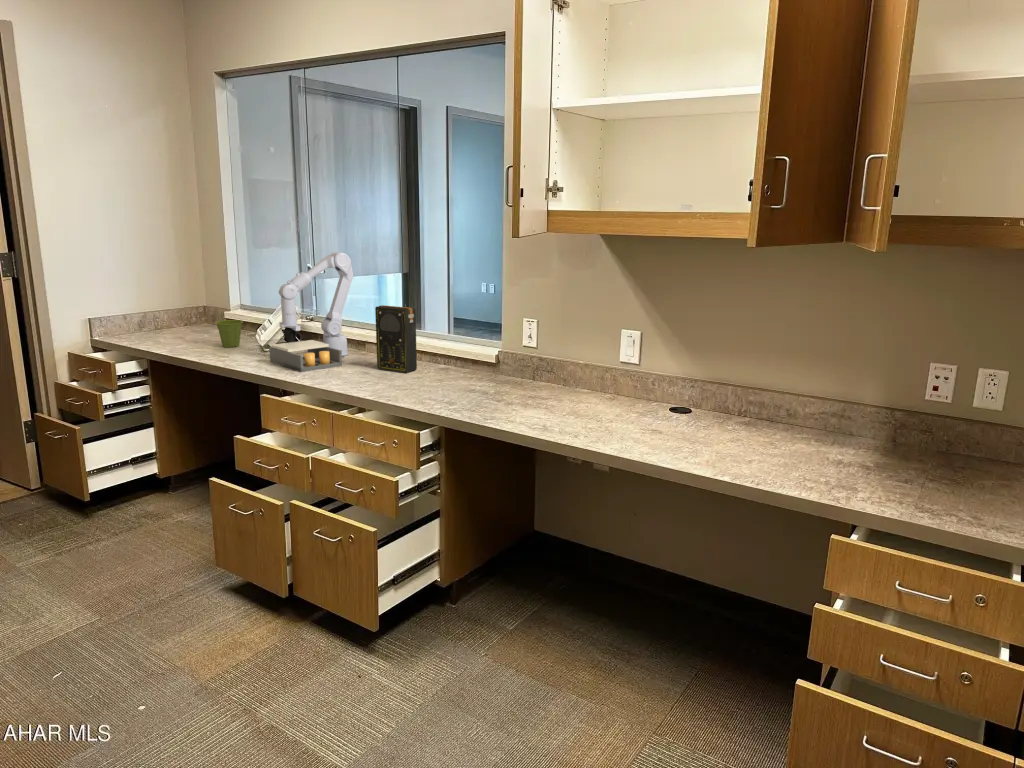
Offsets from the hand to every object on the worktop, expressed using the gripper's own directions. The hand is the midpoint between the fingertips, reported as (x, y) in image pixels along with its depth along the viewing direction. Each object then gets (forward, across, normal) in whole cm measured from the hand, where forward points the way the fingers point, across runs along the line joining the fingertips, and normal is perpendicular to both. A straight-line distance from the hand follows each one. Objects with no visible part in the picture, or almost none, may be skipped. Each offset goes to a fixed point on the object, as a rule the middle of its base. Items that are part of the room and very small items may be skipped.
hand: (291, 346), depth 303 cm
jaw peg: (+6, +21, +3) cm, 22 cm away
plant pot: (+6, -46, -6) cm, 47 cm away
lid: (0, +8, 0) cm, 8 cm away
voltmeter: (+6, +46, +21) cm, 51 cm away
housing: (+6, +12, 0) cm, 13 cm away
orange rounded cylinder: (+6, +21, -3) cm, 22 cm away
